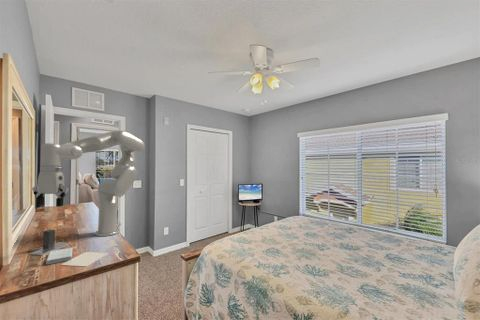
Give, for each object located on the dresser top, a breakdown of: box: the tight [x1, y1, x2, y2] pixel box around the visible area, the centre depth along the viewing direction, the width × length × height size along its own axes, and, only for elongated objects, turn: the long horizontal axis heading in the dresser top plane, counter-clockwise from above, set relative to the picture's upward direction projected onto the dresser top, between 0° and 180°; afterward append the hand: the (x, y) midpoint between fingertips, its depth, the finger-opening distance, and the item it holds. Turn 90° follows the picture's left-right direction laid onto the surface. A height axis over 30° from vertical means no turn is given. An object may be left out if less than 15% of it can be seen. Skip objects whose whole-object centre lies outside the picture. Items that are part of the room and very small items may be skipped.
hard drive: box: [45, 247, 74, 265], centre depth 95 cm, size 2×8×12 cm
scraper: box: [30, 229, 71, 256], centre depth 104 cm, size 6×14×9 cm, turn 175°
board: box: [60, 251, 109, 268], centre depth 94 cm, size 13×11×1 cm
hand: (49, 205), depth 103 cm, fingers open, 9 cm apart
